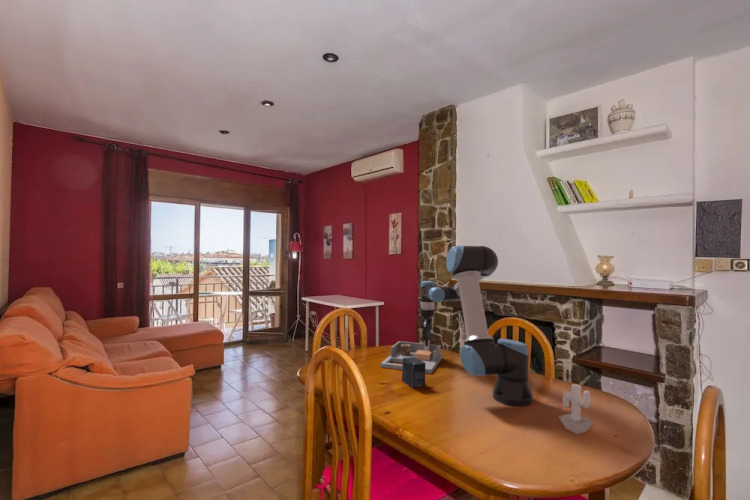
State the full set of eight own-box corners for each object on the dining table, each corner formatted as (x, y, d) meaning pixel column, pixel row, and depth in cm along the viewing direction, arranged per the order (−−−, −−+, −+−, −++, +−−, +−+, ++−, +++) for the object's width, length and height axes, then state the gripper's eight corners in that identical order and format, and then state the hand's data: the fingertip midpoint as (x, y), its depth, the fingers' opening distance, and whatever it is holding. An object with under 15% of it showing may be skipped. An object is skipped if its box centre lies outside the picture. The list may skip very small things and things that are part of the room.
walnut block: (410, 353, 207) (410, 344, 207) (410, 355, 202) (410, 346, 202) (401, 352, 207) (401, 343, 207) (400, 355, 202) (400, 346, 202)
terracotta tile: (432, 356, 200) (432, 351, 200) (429, 361, 192) (429, 355, 192) (418, 355, 203) (418, 349, 203) (414, 359, 195) (414, 353, 195)
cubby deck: (442, 358, 204) (442, 345, 204) (431, 373, 178) (431, 359, 178) (397, 353, 214) (397, 341, 214) (380, 367, 188) (380, 353, 188)
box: (425, 386, 161) (426, 362, 161) (412, 388, 159) (412, 364, 159) (414, 378, 171) (414, 356, 171) (401, 380, 169) (401, 357, 169)
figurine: (570, 421, 129) (571, 378, 129) (596, 434, 120) (596, 388, 120) (555, 425, 126) (556, 381, 126) (580, 438, 117) (581, 391, 118)
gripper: (423, 306, 212) (423, 347, 213) (417, 310, 200) (417, 353, 200) (436, 307, 209) (436, 349, 210) (431, 311, 197) (430, 355, 198)
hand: (426, 351), depth 205 cm, fingers closed
